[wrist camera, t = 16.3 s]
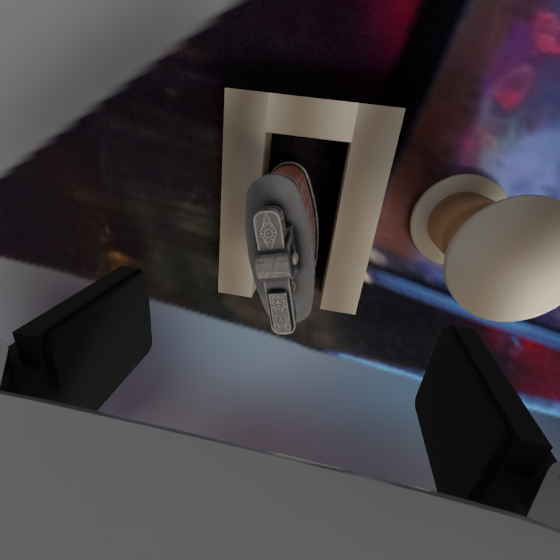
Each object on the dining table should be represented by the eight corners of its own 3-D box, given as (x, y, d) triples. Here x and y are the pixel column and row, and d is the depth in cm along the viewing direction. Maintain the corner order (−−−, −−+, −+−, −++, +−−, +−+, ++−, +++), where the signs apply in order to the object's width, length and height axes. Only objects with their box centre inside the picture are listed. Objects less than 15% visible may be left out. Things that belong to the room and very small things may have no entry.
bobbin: (522, 180, 20) (627, 208, 13) (485, 268, 23) (557, 331, 16) (424, 167, 21) (474, 187, 14) (399, 255, 23) (430, 310, 16)
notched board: (397, 110, 20) (405, 108, 18) (353, 298, 25) (355, 314, 23) (236, 92, 21) (224, 87, 18) (227, 277, 26) (218, 291, 24)
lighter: (263, 164, 22) (217, 188, 13) (312, 157, 22) (300, 177, 13) (279, 273, 25) (251, 352, 16) (323, 269, 25) (319, 350, 16)
